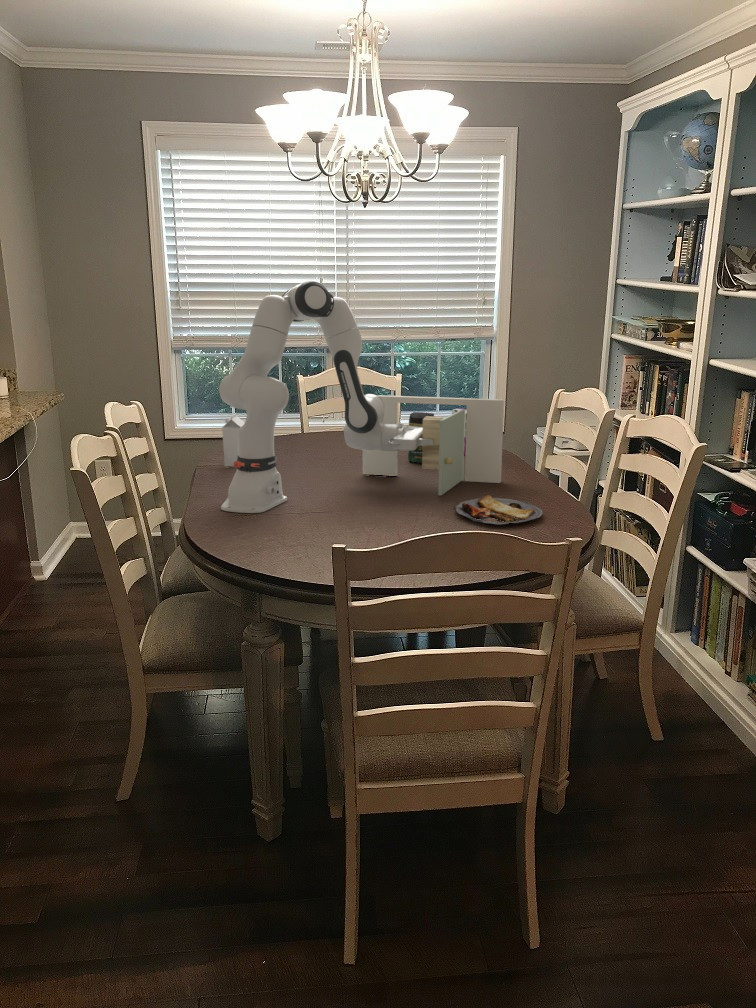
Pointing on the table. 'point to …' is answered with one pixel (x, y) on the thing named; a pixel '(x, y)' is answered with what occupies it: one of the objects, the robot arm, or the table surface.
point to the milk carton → (231, 439)
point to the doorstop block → (432, 451)
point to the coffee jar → (417, 421)
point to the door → (451, 451)
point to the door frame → (480, 437)
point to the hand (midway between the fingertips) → (435, 439)
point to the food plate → (497, 510)
